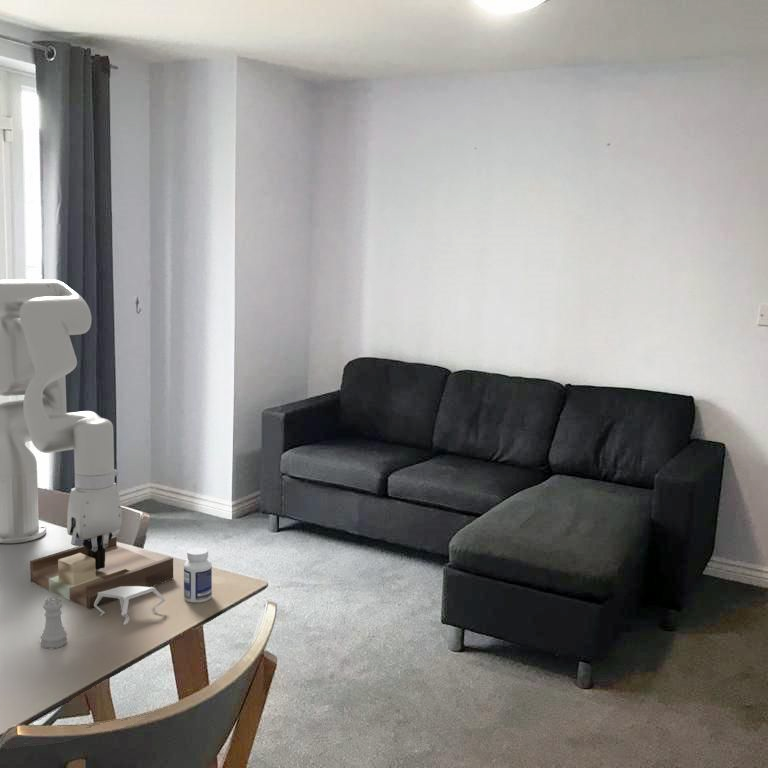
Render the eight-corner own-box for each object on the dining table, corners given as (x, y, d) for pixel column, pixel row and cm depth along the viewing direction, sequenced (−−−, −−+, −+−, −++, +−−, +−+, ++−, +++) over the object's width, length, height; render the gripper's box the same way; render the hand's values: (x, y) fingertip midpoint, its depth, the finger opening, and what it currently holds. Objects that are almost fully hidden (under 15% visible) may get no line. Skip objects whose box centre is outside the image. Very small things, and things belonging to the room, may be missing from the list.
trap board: (30, 581, 175) (30, 560, 174) (113, 555, 191) (113, 535, 190) (89, 609, 163) (89, 587, 162) (173, 578, 179) (173, 558, 178)
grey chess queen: (40, 651, 147) (39, 607, 145) (39, 639, 151) (38, 596, 149) (68, 647, 148) (67, 603, 147) (66, 636, 153) (65, 593, 151)
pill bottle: (215, 593, 173) (215, 547, 171) (207, 604, 167) (207, 556, 166) (189, 591, 173) (188, 545, 172) (180, 602, 168) (179, 554, 166)
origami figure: (106, 631, 155) (105, 605, 154) (93, 614, 162) (92, 589, 161) (170, 617, 162) (170, 592, 161) (155, 601, 168) (155, 577, 168)
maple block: (58, 578, 171) (58, 559, 170) (80, 571, 175) (80, 552, 174) (73, 585, 168) (73, 565, 167) (95, 577, 172) (95, 558, 171)
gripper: (114, 469, 180) (116, 552, 183) (50, 484, 168) (53, 573, 171) (137, 476, 176) (138, 561, 179) (73, 491, 164) (75, 583, 167)
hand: (96, 567), depth 175 cm, fingers closed
